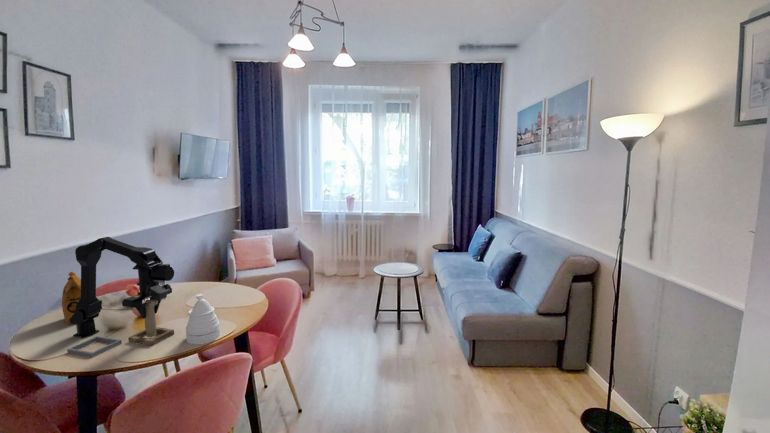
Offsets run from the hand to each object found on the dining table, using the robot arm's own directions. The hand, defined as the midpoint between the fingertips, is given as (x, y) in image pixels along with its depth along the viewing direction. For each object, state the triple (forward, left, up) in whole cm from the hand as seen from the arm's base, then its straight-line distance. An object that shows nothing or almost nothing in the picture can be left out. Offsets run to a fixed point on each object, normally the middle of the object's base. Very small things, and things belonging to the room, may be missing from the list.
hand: (149, 315), depth 152 cm
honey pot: (+20, +7, -10) cm, 24 cm away
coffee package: (-50, +5, -10) cm, 51 cm away
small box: (-38, +35, -10) cm, 53 cm away
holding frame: (-14, -13, -10) cm, 21 cm away
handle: (0, 0, -9) cm, 9 cm away
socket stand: (0, 0, -10) cm, 10 cm away
